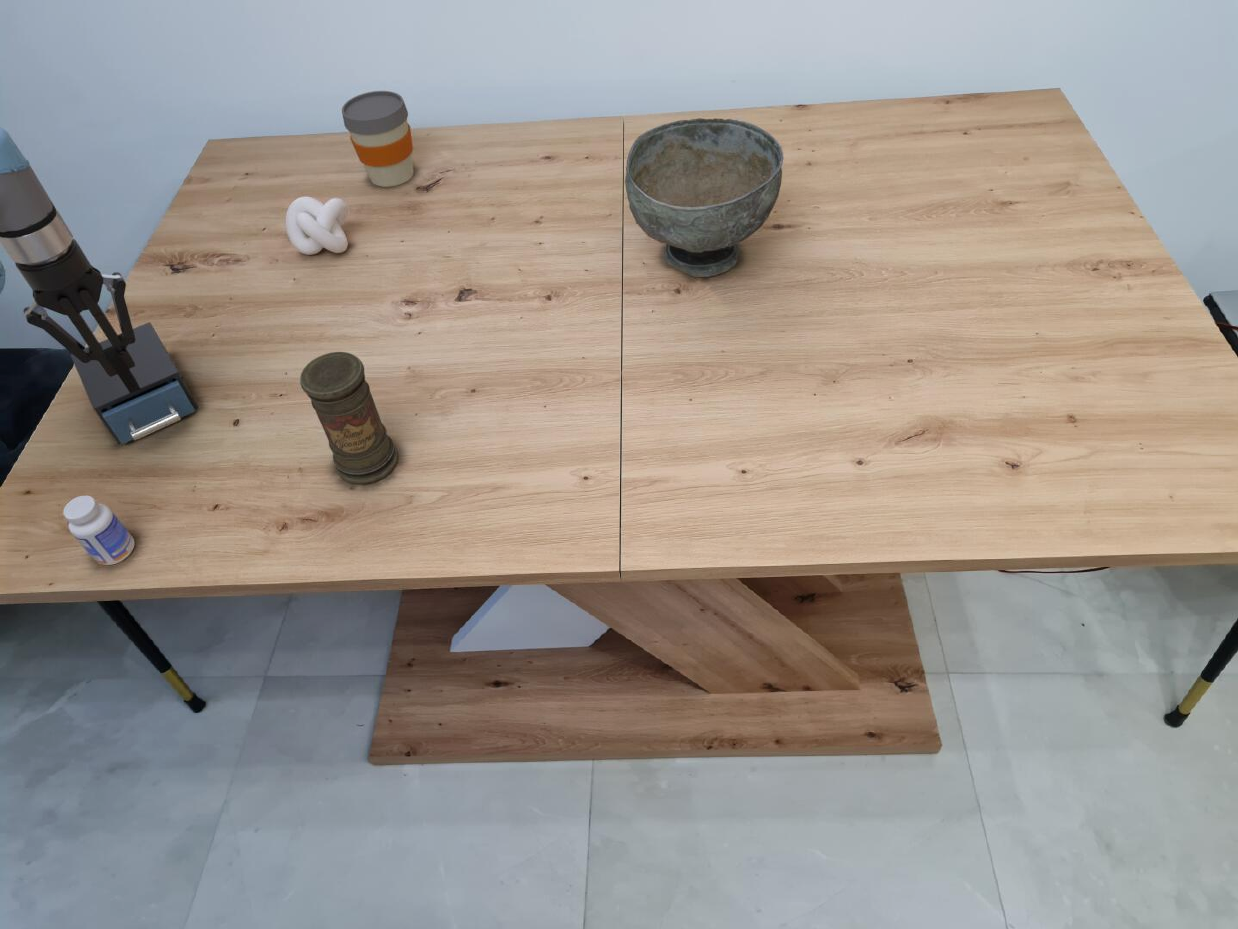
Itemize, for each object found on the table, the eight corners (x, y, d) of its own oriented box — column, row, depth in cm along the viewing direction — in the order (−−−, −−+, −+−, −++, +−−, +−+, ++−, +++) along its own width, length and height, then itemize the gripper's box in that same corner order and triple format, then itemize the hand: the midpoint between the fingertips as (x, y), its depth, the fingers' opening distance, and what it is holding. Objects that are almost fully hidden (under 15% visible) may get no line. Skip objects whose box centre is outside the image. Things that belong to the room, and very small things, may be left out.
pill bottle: (136, 530, 126) (102, 485, 119) (134, 560, 123) (99, 515, 116) (96, 541, 125) (59, 497, 118) (93, 571, 122) (55, 527, 115)
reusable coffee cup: (372, 198, 181) (351, 127, 170) (354, 171, 189) (332, 102, 177) (431, 178, 184) (413, 108, 173) (410, 152, 192) (392, 84, 181)
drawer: (204, 428, 138) (188, 401, 134) (130, 462, 134) (111, 435, 130) (169, 363, 149) (153, 336, 145) (99, 393, 145) (80, 366, 141)
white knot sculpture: (366, 253, 168) (352, 211, 161) (302, 273, 165) (286, 231, 158) (351, 224, 175) (337, 182, 168) (290, 242, 172) (274, 201, 166)
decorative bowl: (721, 195, 172) (721, 96, 157) (809, 261, 157) (819, 158, 142) (604, 250, 164) (592, 151, 149) (686, 324, 150) (682, 223, 134)
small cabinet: (198, 407, 143) (177, 372, 137) (118, 444, 138) (93, 408, 133) (170, 356, 152) (149, 321, 146) (94, 389, 147) (70, 354, 142)
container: (331, 453, 134) (290, 362, 120) (389, 432, 136) (355, 341, 123) (344, 494, 128) (303, 404, 115) (405, 472, 130) (371, 380, 117)
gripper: (89, 217, 118) (169, 353, 135) (-16, 256, 113) (81, 392, 131) (103, 243, 113) (184, 380, 131) (-6, 284, 109) (93, 420, 126)
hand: (132, 386), depth 131 cm, fingers closed
